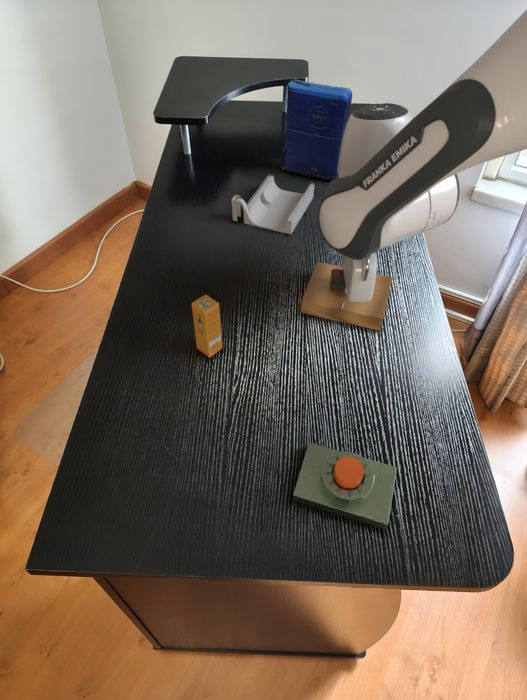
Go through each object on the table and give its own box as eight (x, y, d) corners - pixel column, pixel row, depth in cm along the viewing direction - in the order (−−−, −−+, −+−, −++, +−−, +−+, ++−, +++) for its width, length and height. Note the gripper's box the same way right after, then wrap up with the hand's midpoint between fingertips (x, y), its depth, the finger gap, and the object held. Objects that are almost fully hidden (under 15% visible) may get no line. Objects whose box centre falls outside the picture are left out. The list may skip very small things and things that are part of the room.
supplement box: (224, 347, 79) (220, 303, 71) (209, 358, 77) (203, 315, 70) (211, 336, 80) (205, 292, 73) (195, 348, 79) (188, 304, 71)
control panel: (389, 289, 88) (392, 276, 86) (379, 330, 81) (383, 317, 79) (315, 274, 91) (317, 260, 88) (300, 312, 84) (301, 299, 82)
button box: (394, 472, 64) (400, 460, 62) (385, 529, 59) (391, 518, 57) (308, 448, 67) (309, 435, 64) (292, 500, 62) (293, 489, 59)
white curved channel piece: (291, 234, 99) (292, 213, 95) (232, 220, 102) (231, 199, 98) (313, 197, 108) (315, 176, 104) (259, 186, 111) (259, 165, 107)
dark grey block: (366, 285, 84) (369, 268, 81) (367, 291, 83) (371, 275, 80) (329, 284, 84) (331, 268, 81) (330, 291, 83) (332, 274, 80)
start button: (364, 467, 61) (366, 461, 60) (359, 492, 59) (361, 486, 58) (336, 459, 62) (338, 453, 61) (330, 484, 60) (332, 478, 58)
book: (279, 173, 115) (281, 84, 100) (286, 163, 118) (290, 75, 103) (336, 185, 111) (348, 94, 96) (342, 174, 115) (355, 85, 99)
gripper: (392, 260, 66) (374, 328, 76) (373, 181, 79) (360, 248, 90) (346, 259, 66) (335, 328, 76) (334, 180, 79) (326, 248, 90)
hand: (348, 284), depth 83 cm, fingers closed on dark grey block, 2 cm apart
